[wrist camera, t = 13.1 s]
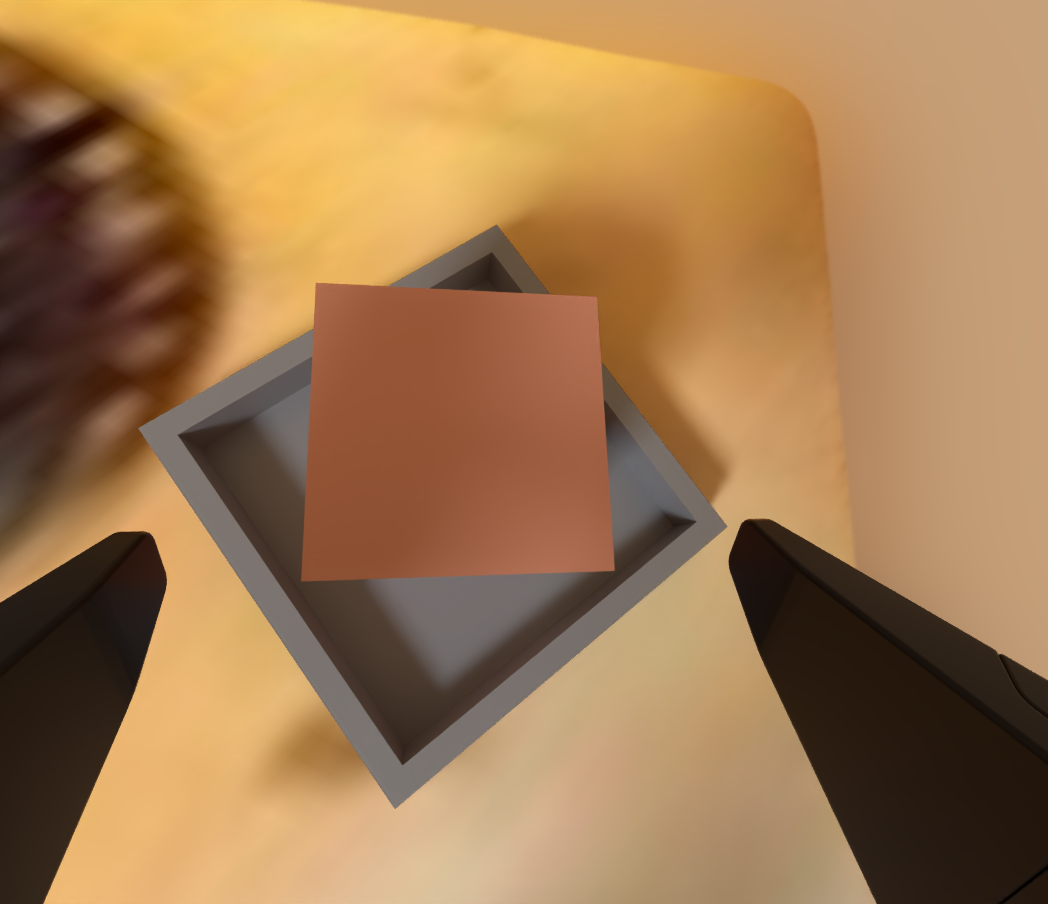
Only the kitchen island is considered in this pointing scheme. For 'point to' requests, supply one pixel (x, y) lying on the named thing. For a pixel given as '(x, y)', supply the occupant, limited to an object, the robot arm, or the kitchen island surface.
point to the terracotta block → (455, 435)
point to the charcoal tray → (426, 602)
